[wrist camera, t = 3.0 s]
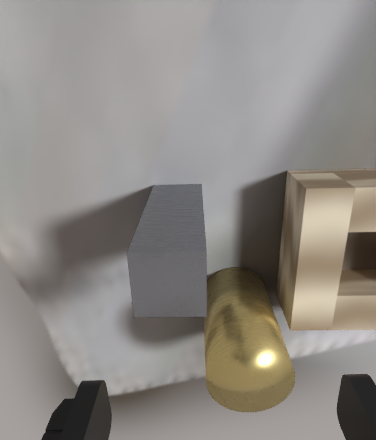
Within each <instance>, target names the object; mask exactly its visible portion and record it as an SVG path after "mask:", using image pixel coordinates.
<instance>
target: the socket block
mask: <svg viewBox="0 0 376 440" xmlns="http://www.w3.org/2000/svg"><path fill="white" fill-rule="evenodd" d="M276 295H277V297H278V300H279V303H280V305H281V308H282V310H283V313H284V315H285V318H286V321H287V323H288V326H289V328H290V330H376V169H344V170H297V171H287V179H286V191H285V202H284V213H283V224H282V236H281V247H280V258H279V270H278V281H277V292H276Z"/></svg>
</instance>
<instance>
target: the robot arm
mask: <svg viewBox="0 0 376 440" xmlns="http://www.w3.org/2000/svg"><path fill="white" fill-rule="evenodd" d="M337 415H338V420H339V424H340V426H341V429H342V431H343V434H344V436H345V439H346V440H376V385H375V383H374V382H373V380H372V379H371V377H370V376H369V375H367V374H348V375H343V376H342V379H341V385H340V391H339V397H338V403H337ZM111 419H112V414H111V407H110V402H109V397H108V392H107V387H106V383H105V381H104V380H96V381H82V382H81V383H80V385H79V388H78V391H77V393H76V396H75V398H74V399H64V400H63V401H62V403H61V404H60V405H59V406H58V407H57V409H56V410H55V411H54V412H53V413H52V416H51V418H50V421H49V423H48V425H47V428H46V432H45V434H44V435H43V437H42V440H108V438H109V434H110V428H111Z"/></svg>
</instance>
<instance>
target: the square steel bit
mask: <svg viewBox="0 0 376 440" xmlns="http://www.w3.org/2000/svg"><path fill="white" fill-rule="evenodd" d="M127 258H128V268H129V277H130V286H131V296H132V305H133V314H134V317H207V266H206V239H205V225H204V212H203V198H202V184H187V185H153V188H152V190H151V193H150V196H149V198H148V201H147V203H146V206H145V208H144V211H143V213H142V216H141V218H140V221H139V223H138V226H137V228H136V231H135V234H134V236H133V239H132V241H131V244H130V246H129V249H128V251H127Z"/></svg>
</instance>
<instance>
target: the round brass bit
mask: <svg viewBox="0 0 376 440" xmlns="http://www.w3.org/2000/svg"><path fill="white" fill-rule="evenodd" d="M204 339H205V363H206V383H207V388H208V391H209V393H210V395H211V396H212V398H213V399H214V400H215V401H216V402H218V403H219V404H220V405H222V406H224V407H226V408H228V409H231V410H235V411H239V412H258V411H263V410H266V409H269V408H272V407H274V406H276V405H278V404H279V403H281V402H282V401H283V400H284V399H285V398H286V397H287V396H288V395H289V394H290V393H291V391H292V389H293V387H294V383H295V372H294V369H293V366H292V363H291V360H290V357H289V354H288V352H287V349H286V346H285V343H284V340H283V337H282V334H281V331H280V329H279V326H278V323H277V320H276V317H275V314H274V311H273V309H272V306H271V303H270V300H269V297H268V294H267V291H266V288H265V286H264V283H263V281H262V280H261V278H260V277H259V276H258V275H257V274H255V273H254V272H252V271H250V270H248V269H245V268H239V267H233V268H226V269H223V270H221V271H218V272H217V273H215V274H214V275H212V276H211V277H210V278H209V279H208V281H207V317H204Z"/></svg>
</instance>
